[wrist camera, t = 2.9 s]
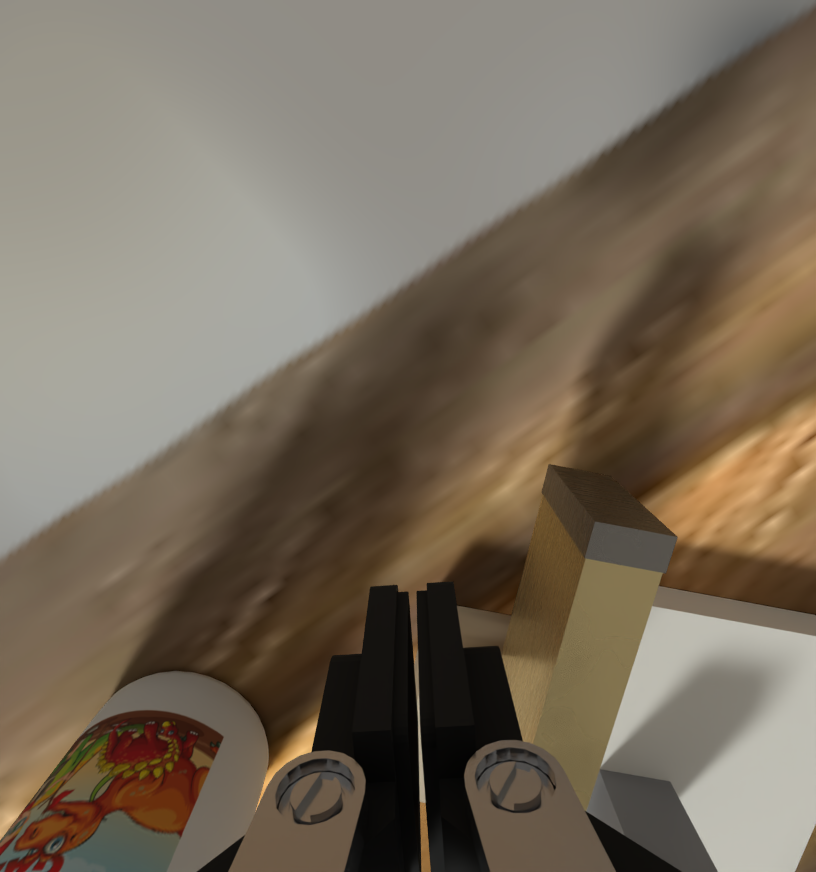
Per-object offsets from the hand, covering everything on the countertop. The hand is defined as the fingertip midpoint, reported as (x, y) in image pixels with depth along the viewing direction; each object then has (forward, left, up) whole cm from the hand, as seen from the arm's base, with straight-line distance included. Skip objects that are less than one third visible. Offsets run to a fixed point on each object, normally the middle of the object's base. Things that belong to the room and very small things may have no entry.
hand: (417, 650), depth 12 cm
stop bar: (-5, +4, -9) cm, 11 cm away
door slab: (-14, +10, -12) cm, 21 cm away
